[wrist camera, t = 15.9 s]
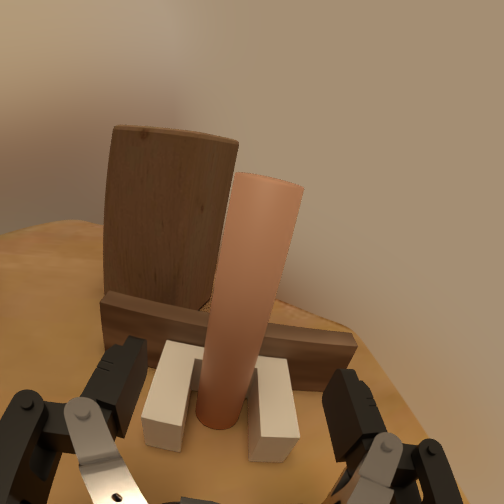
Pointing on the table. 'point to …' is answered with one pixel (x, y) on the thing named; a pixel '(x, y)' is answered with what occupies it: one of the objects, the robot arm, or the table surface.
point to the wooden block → (165, 213)
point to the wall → (195, 328)
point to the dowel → (244, 291)
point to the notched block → (259, 397)
